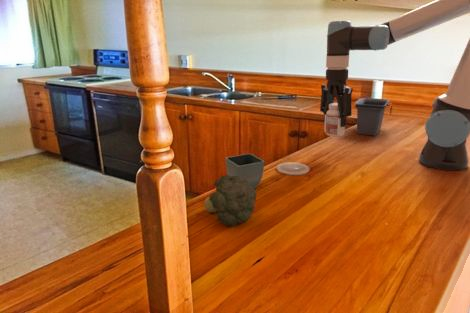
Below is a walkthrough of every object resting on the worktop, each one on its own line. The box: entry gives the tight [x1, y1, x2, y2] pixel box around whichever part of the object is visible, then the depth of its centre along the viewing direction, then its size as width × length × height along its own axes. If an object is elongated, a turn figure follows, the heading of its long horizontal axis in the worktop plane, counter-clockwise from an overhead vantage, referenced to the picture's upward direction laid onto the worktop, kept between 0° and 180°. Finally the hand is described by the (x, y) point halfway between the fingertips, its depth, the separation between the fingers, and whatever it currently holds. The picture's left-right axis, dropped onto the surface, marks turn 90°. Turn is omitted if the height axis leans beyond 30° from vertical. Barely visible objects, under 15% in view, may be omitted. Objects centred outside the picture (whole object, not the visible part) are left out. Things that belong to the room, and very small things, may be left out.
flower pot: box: [225, 153, 265, 189], centre depth 111 cm, size 9×9×9 cm
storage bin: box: [354, 97, 393, 136], centre depth 173 cm, size 21×16×14 cm
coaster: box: [276, 162, 310, 176], centre depth 127 cm, size 11×11×1 cm
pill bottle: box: [325, 102, 344, 137], centre depth 134 cm, size 6×6×11 cm
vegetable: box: [203, 174, 257, 228], centre depth 92 cm, size 12×13×15 cm
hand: (334, 133), depth 136 cm, fingers closed on pill bottle, 6 cm apart
